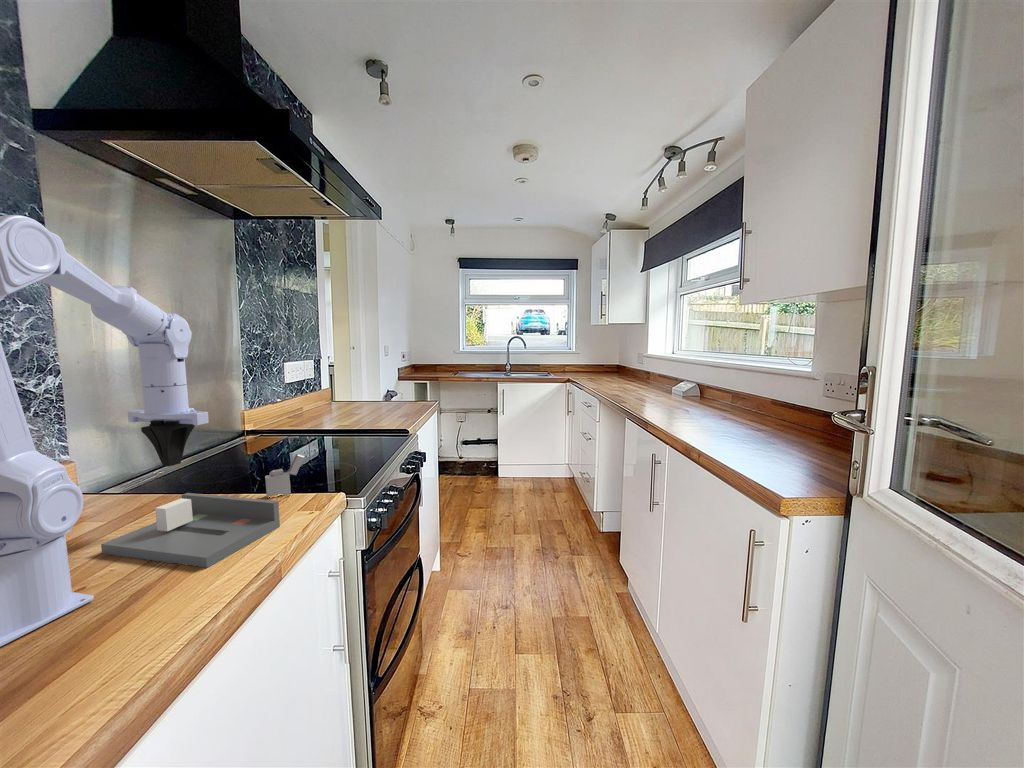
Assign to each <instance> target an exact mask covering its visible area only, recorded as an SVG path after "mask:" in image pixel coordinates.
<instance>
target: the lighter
mask: <svg viewBox="0 0 1024 768" xmlns="http://www.w3.org/2000/svg"><path fill="white" fill-rule="evenodd" d="M304 458H305V455H304V454H301V453H297V452H296V453H295V456H294V457H293V460H292V463H291V464H290V467H289V469H288V471H287V472H284V470H283V468H279V469H273V470H271V471H270V472H269V475H265V476H264V478H265V479H264V480H265V488H266V489H265V490H266V492H265V493H266V498H267V497H269V496H272V495H278V494H289V493H292V492H291V491H292V490H291V480H290V479H291V477H290V475H293V476H297V474H298V472H299V470H300V467H302V466H301V465H302V463H303V461H304V460H305V459H304ZM289 495H290V494H289Z"/></svg>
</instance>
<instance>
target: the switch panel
mask: <svg viewBox="0 0 1024 768" xmlns="http://www.w3.org/2000/svg"><path fill="white" fill-rule="evenodd" d="M181 498H183V499H191V504H192V516H193V521H190V522H188V523H186V524H183V525H181V526H179V527H177V528H174V529H172V530H170V531H160V530H157V522H153V523H151V524H148V525H146V526H143V527H140V528H139V529H136V530H133V531H131V532H128V533H125V534H123V535H120V536H118V537H115V538H113V539H111V540H108V541H106V542H103V543H101V544H100V546H101V554H102V555H108V556H109V555H110V556H115V557H124V558H129V559H130V558H131V559H137V558H140V559H139V560H144V559H147V560H146V561H151V560H152V561H153V562H159V561H161V562H160V563H166V562H170V563H169V564H173V563H178V564H177V565H181V564H187V565H186V566H188V565H194V566H193V567H196V566H198V567H197V568H204V569H208V568H209V567H211V566H213V565H215V564H216V563H219V562H220V561H222V560H224V559H225V558H227V557H229V556H231V555H232V554H234V553H236V552H238V551H239V550H241V549H243V548H245V547H247V546H249V545H250V544H252V543H253V542H255V541H257V540H259V539H260V538H262V537H264V536H266V535H268V534H270V533H271V532H273V531H274V530H276V529H278V528H280V527H281V525H280V523H281V521H280V507H279V500H270V499H262V498H252V497H251V498H249V497H237V496H228V495H219V494H218V495H216V494H215V495H214V494H204V493H194V492H193V493H192V492H186V493H183V494H181ZM152 561H151V562H152Z"/></svg>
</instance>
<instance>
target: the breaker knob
mask: <svg viewBox="0 0 1024 768" xmlns="http://www.w3.org/2000/svg"><path fill="white" fill-rule="evenodd" d="M155 520H156V522H157V530H160V531H170V530H172V529H174V528H177V527H179V526H181V525H183V524H186V523H188V522H190V521H193V516H192V504H191V499H183V498H182V497H181V498H179V499H176V500H173V501H169V502H167V503H165V504H163V505H160V506H157V507H155Z"/></svg>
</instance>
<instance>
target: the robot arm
mask: <svg viewBox="0 0 1024 768" xmlns="http://www.w3.org/2000/svg"><path fill="white" fill-rule="evenodd" d="M40 281H41V282H43V283H45V284H47V285H49V286H50V287H53V288H55V289H57V290H60V291H61V292H62V293H63V292H64V293H65V294H67V295H69V296H71V297H74V298H76V299H78V300H81V301H83V302H84V303H86V304H88V305H90V311H91V313H92V314H93V316H94V317H95V318H96V319H98V320H100V321H103V322H104V323H106V324H107V325H110V326H112V327H114V328H115V329H117V330H119V331H121V332H122V334H124V335H125V336H126V338H127V340H128V343H130V344H131V346H133V347H137V349H138V350H137V351H138V358H139V369H140V378H141V379H140V380H141V390H142V391H141V392H142V402H143V403H142V404H143V409H142V408H141V409H135V410H134V409H133V410H128V411H127V419H128V423H137V422H138V423H149V424H148V425H147V426H142V427H141V428H140V431H141V433H143V434H144V436H146V437H147V439H148V440H149V441H150V443H151V444H152V446H153V448H154V450H155V452H156V453H157V457H158V458H159V460H160V463H161V465H162V467H167V468H168V467H173V466H176V465H180V464H182V460H183V455H184V451H185V447H186V444H187V442H188V439H189V437H190V434H191V433H192V431H193V430H194V428H195V427H196V426H201V425H204V424H205V425H206V424H209V423H210V422H209V412H208V411H201V410H196V409H195V408H194V407H190V405H189V396H188V395H189V394H188V380H187V373H186V372H187V370H186V361H185V360H186V358H188V354H189V345H190V343H191V340H192V335H193V334H192V332H193V331H192V330H191V328H190V325H189V323H188V321H187V320H186V319H185V318H184V317H182V316H180V315H179V314H177V313H173V312H171V313H170V312H165V311H164V310H163V309H161V308H160V307H159V306H158V305H157V304H154V303H152V302H151V301H150V300H148V299H146V298H145V297H143V296H141V295H140V294H139V293H138V290H136V288H134V287H132V286H124V285H110V284H109V283H108V282H107V281H106V280H104V279H103V278H101V277H100V276H99V275H97V274H96V273H95V272H93V271H92V270H91V269H90V268H88V267H87V266H86V265H84V264H83V263H82V262H80V261H79V260H77V259H76V258H75V257H74V256H73V255H71V254H70V253H69V252H67V251H66V247H65V244H64V242H63V240H62V238H61V237H60V236H59V235H57V234H56V233H54V232H52V231H50V230H48V228H47V227H46V226H44V225H43V224H41V223H40V222H39V221H37V220H36V219H33V218H31V217H29V216H25V215H20V214H12V215H4V216H2V215H0V302H1V301H2V300H3V299H4V298H5V297H7V296H8V295H11V294H12V293H14V292H17V291H19V290H22V289H24V288H25V287H28V286H30V285H33V284H35V283H37V282H40ZM83 510H84V496H83V492H82V490H81V488H80V486H78V485H77V484H76V483H75V482H74V481H72V479H71V478H70V476H69V474H68V472H67V468H66V466H65V465H63V464H61V463H60V462H58V461H56V460H54V459H52V458H50V457H48V456H46V455H44V454H42V453H41V452H39V451H37V450H36V447H35V443H34V440H33V437H32V434H31V432H30V427H29V426H28V422H27V419H26V416H25V413H24V409H23V407H22V403H21V401H20V397H19V395H18V391H17V389H16V385H15V382H14V378H13V376H12V372H11V370H10V367H9V363H8V361H7V357H6V355H5V352H4V348H3V345H2V342H1V340H0V648H1V647H2V646H5V645H7V644H9V643H11V642H12V641H15V640H16V639H19V638H21V637H22V636H24V635H27V634H28V633H30V632H32V631H34V630H37V629H38V628H40V627H43V626H45V625H46V624H48V623H50V622H53V621H54V620H56V619H59V618H60V617H62V616H65V615H66V614H68V613H71V612H72V611H74V610H76V609H78V608H80V607H82V606H84V605H86V604H88V603H91V602H92V601H93V600H94V599H95V596H94V595H92V594H86V593H80V592H74V591H73V589H72V581H71V571H70V563H69V557H68V556H69V555H68V546H67V539H66V538H67V537H66V535H67V534H68V533H70V532H72V530H73V527H74V526H75V524H76V523H77V522H78V520H79V519H80V517H81V515H82V512H83Z"/></svg>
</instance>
